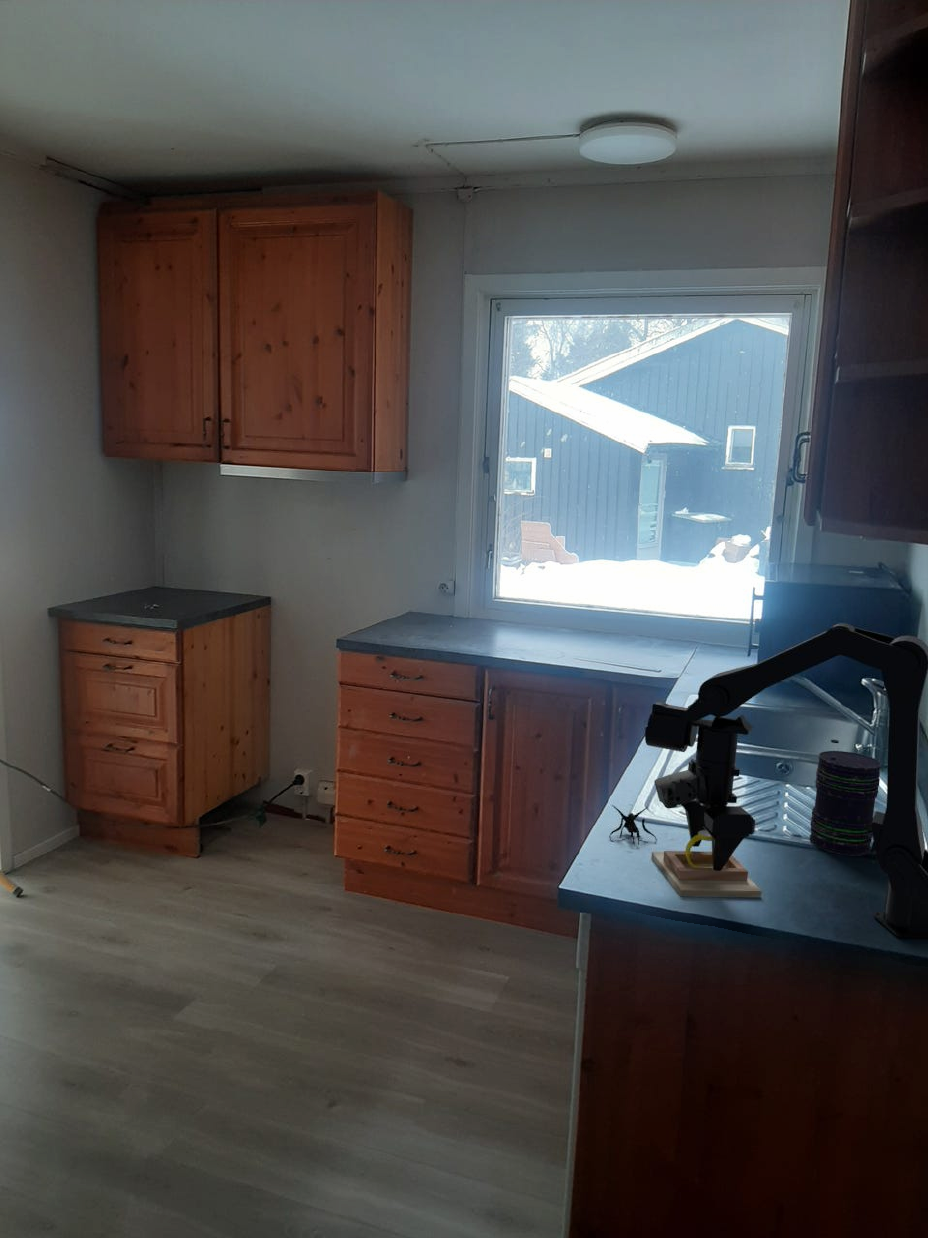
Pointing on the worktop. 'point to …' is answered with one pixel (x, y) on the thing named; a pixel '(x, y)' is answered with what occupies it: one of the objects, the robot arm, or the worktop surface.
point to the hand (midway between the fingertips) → (705, 858)
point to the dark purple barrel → (844, 802)
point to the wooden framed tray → (705, 875)
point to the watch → (701, 835)
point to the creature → (631, 825)
